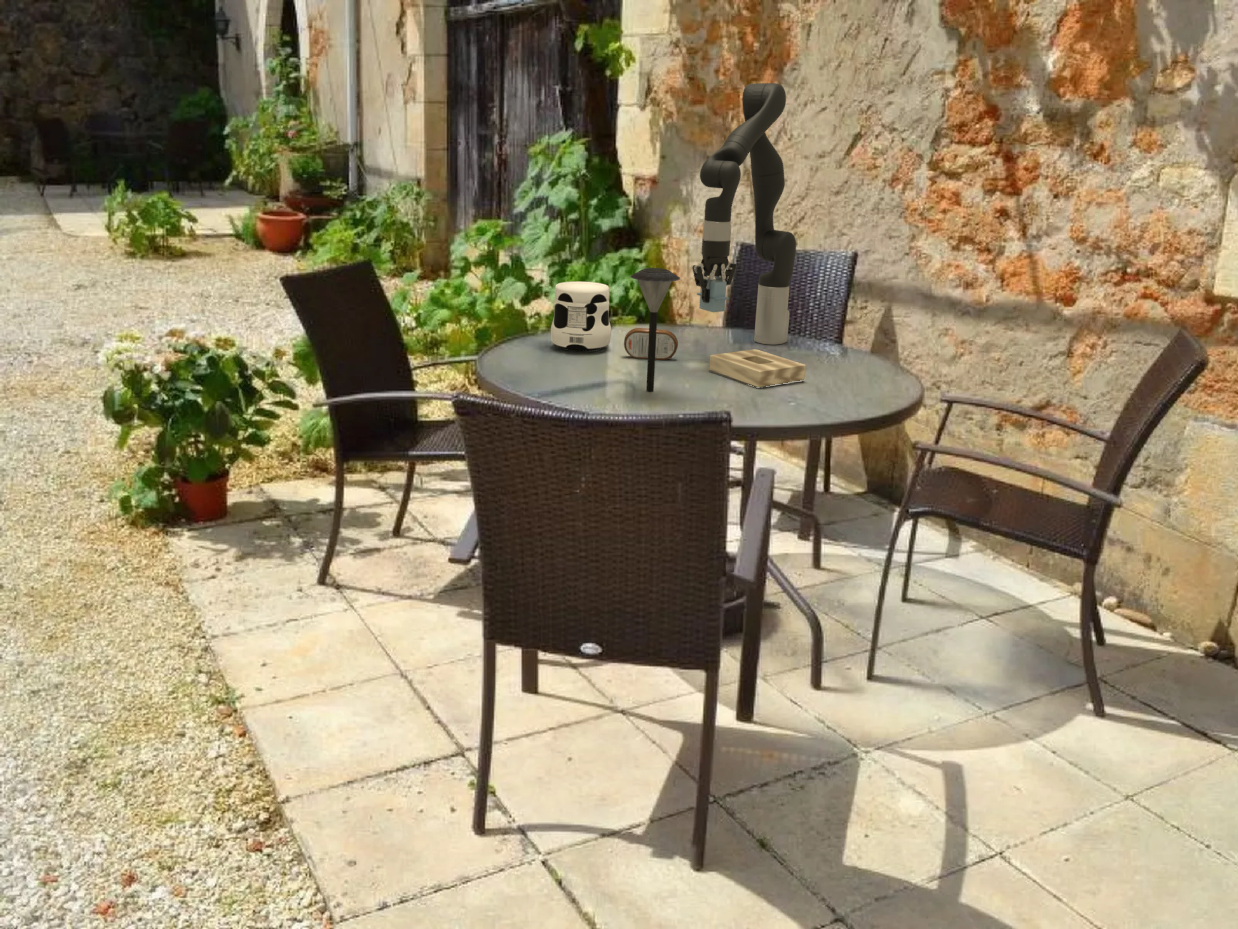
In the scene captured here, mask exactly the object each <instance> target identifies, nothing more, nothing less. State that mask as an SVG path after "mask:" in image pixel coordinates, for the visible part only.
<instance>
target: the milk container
mask: <svg viewBox="0 0 1238 929" xmlns="http://www.w3.org/2000/svg"><path fill="white" fill-rule="evenodd" d="M554 288H555V289H554V300H553V301H554V302H553V304H554V307H553V308H554V309H553V310H554V315H553V320H552V322H551V326H550V336H551V341H552V344H553V345H554V346H555V347H557V348H559V349H561V350H566V351H571V352H582V353H583V352H585V353H586V352H594V351H601V350H602V349H606V347H609V345H610V343H611V338H612V327H611V323H610V316H609V314H610V312H609V311H610V288H609V285H607V284H605V283H600V282H594V281H579V280H578V281H563V282H559V283H557V284H555V287H554Z"/></svg>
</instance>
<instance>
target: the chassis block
mask: <svg viewBox="0 0 1238 929" xmlns="http://www.w3.org/2000/svg"><path fill="white" fill-rule="evenodd" d="M806 369H807V365H806V364H803V363H801V362H796V361H794V360H791V359H788V358H785V357H782V356H779V355H775V354H772V353H769V352H766V351H762V350H759V349H755V348H753V349H748V350H737V351H732V352H724V353H716V354H710V356H709V370H708V371H709V373H713V374H715V375H718V376H721V377H723V378H726V379H730V380H732V381H736V382H737V381H738V382H737V383H740V384H744V385H746V384H749V385H752V386H754V387H766V386H770V385H775V384H783V383H788V382H792V381H800V380H804V379H805V378H806V372H807V371H806ZM805 380H806V379H805ZM754 387H753V388H754Z"/></svg>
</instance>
